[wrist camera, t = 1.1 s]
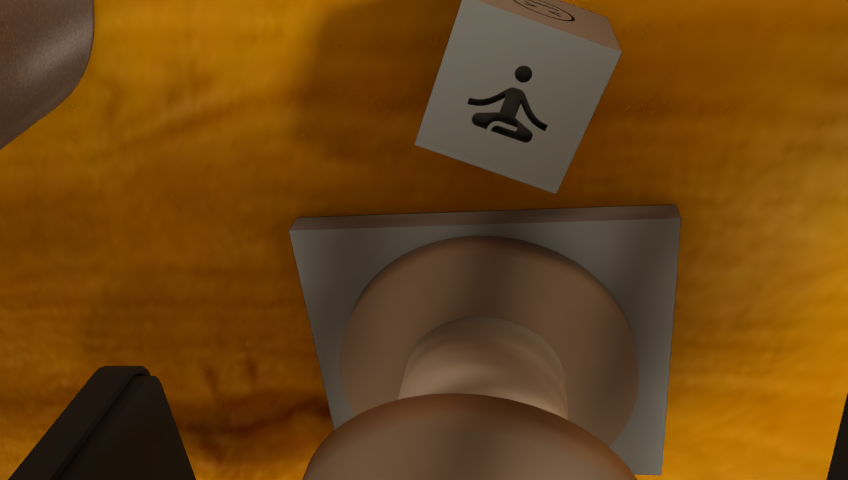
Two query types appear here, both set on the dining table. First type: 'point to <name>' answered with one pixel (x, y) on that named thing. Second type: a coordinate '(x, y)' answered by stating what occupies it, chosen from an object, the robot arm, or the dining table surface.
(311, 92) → the dining table surface
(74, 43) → the plant pot
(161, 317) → the dining table surface
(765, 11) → the dining table surface
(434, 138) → the dice cube
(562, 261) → the bobbin
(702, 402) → the dining table surface
